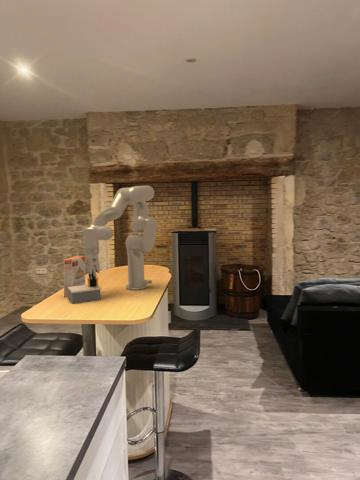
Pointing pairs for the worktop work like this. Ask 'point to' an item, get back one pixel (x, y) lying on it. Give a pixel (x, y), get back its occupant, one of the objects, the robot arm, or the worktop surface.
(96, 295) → the tub
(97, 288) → the lid
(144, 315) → the worktop surface
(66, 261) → the cracker box
